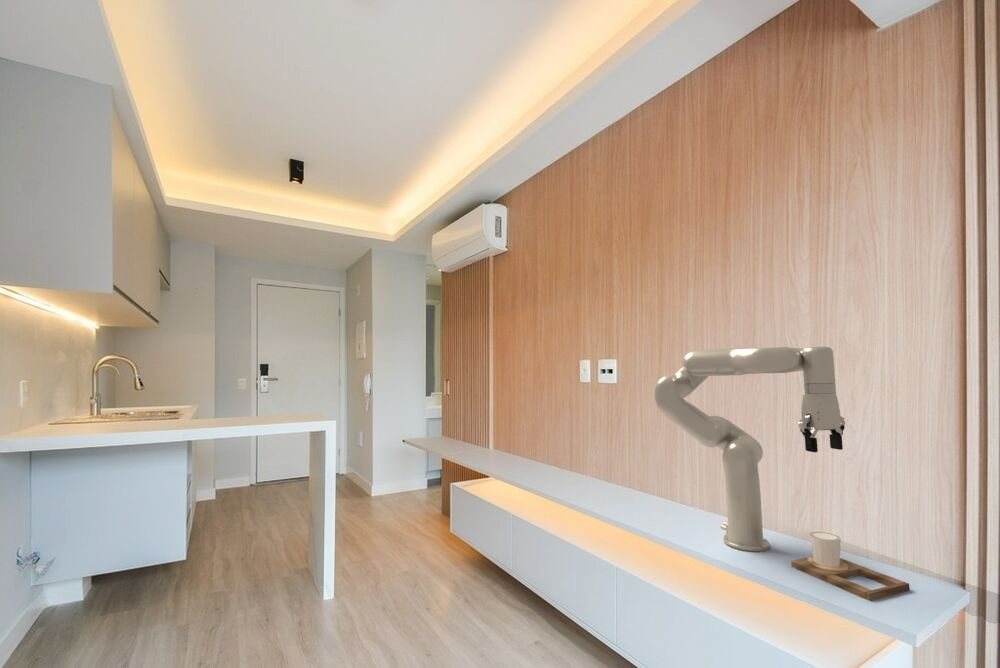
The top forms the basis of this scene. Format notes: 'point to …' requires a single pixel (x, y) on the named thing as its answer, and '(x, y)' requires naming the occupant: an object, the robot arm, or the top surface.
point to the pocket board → (848, 570)
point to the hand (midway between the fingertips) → (824, 450)
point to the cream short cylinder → (825, 548)
